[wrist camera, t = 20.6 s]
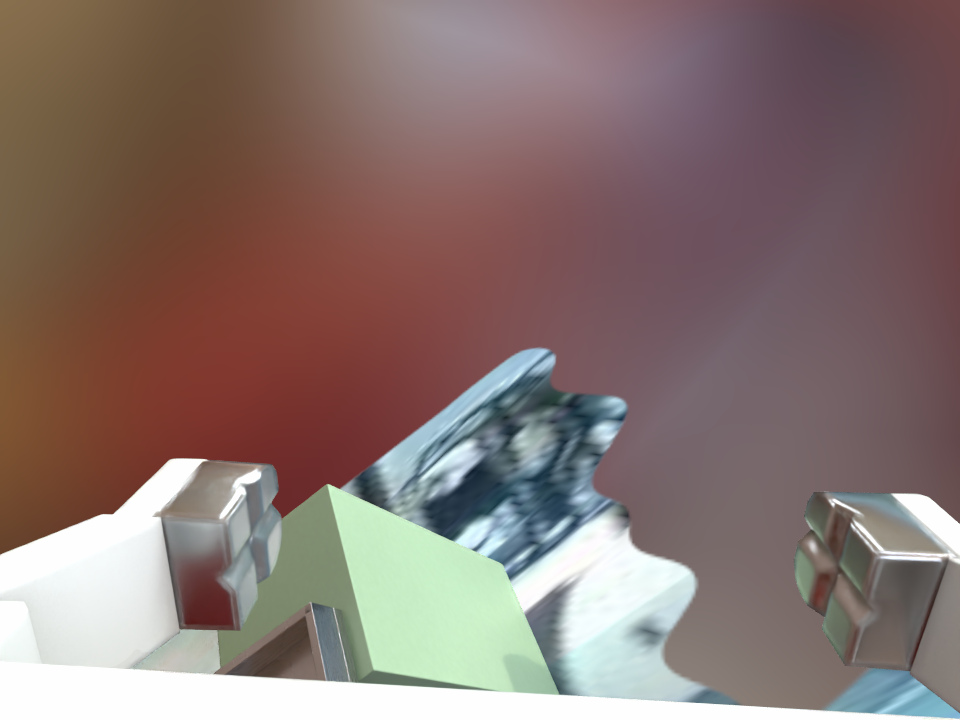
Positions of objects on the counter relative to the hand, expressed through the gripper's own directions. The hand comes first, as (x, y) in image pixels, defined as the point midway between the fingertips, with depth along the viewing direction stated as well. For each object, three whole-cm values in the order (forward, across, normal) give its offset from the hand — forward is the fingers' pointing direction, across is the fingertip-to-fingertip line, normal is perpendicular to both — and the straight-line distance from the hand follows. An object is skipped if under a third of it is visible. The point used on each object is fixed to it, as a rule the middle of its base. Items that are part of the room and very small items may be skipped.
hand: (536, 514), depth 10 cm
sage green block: (+39, -1, -43) cm, 58 cm away
